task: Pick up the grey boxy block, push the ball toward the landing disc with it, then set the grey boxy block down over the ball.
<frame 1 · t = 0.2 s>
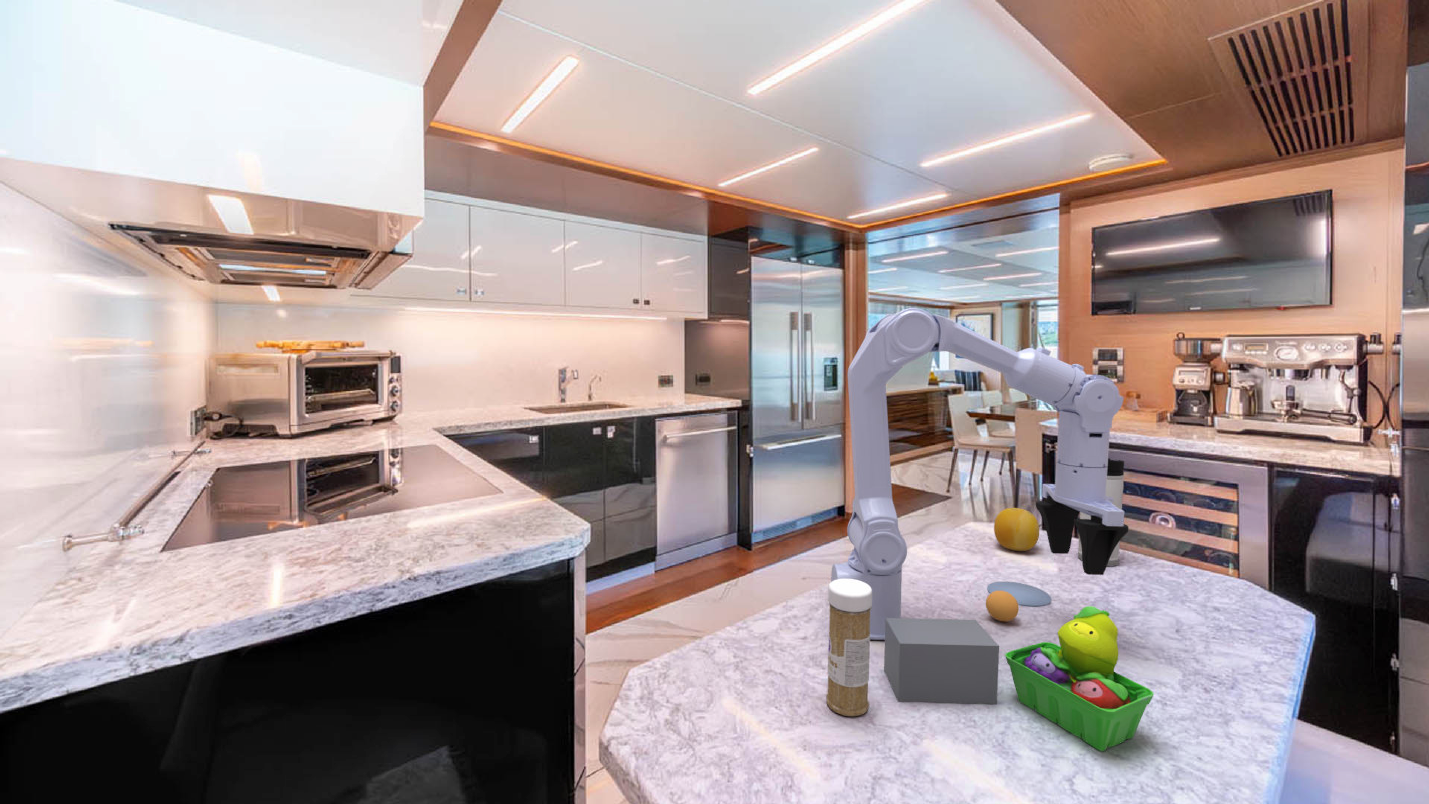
hand: (1075, 562, 75), 10 cm above the countertop, tool pointing down, fingers open, 7 cm apart
fruit: (1015, 549, 110), on the countertop
travel mug: (1097, 561, 103), on the countertop
ball: (1002, 605, 79), on the countertop
grey boxy block: (937, 686, 63), on the countertop
landing disc: (1018, 593, 88), on the countertop
sprinkles bottle: (847, 707, 60), on the countertop
fruit basket: (1075, 718, 58), on the countertop
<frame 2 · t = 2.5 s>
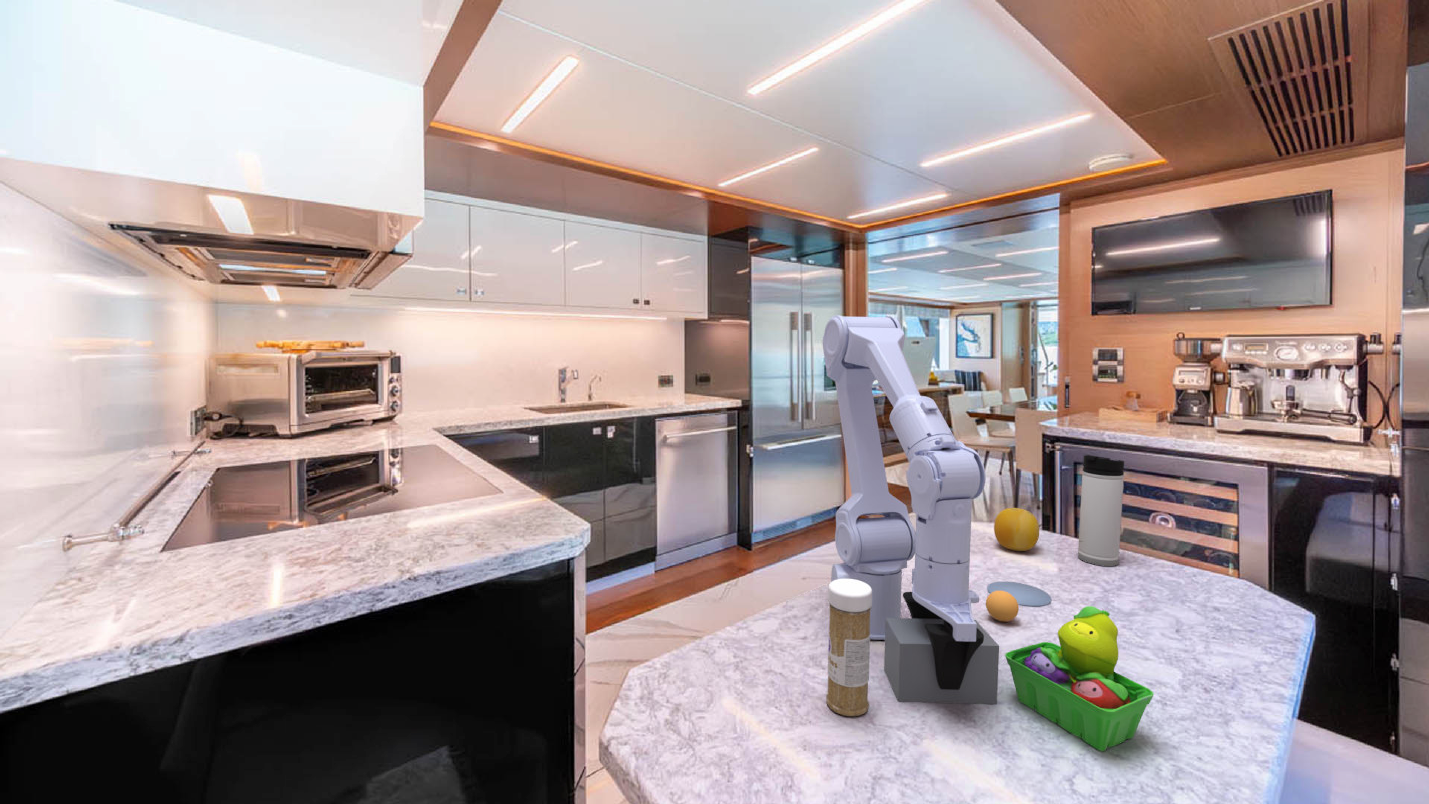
hand: (938, 670, 63), 2 cm above the countertop, tool pointing down, fingers closed on grey boxy block, 6 cm apart
grey boxy block: (937, 686, 63), on the countertop, touching gripper
everything else where it was.
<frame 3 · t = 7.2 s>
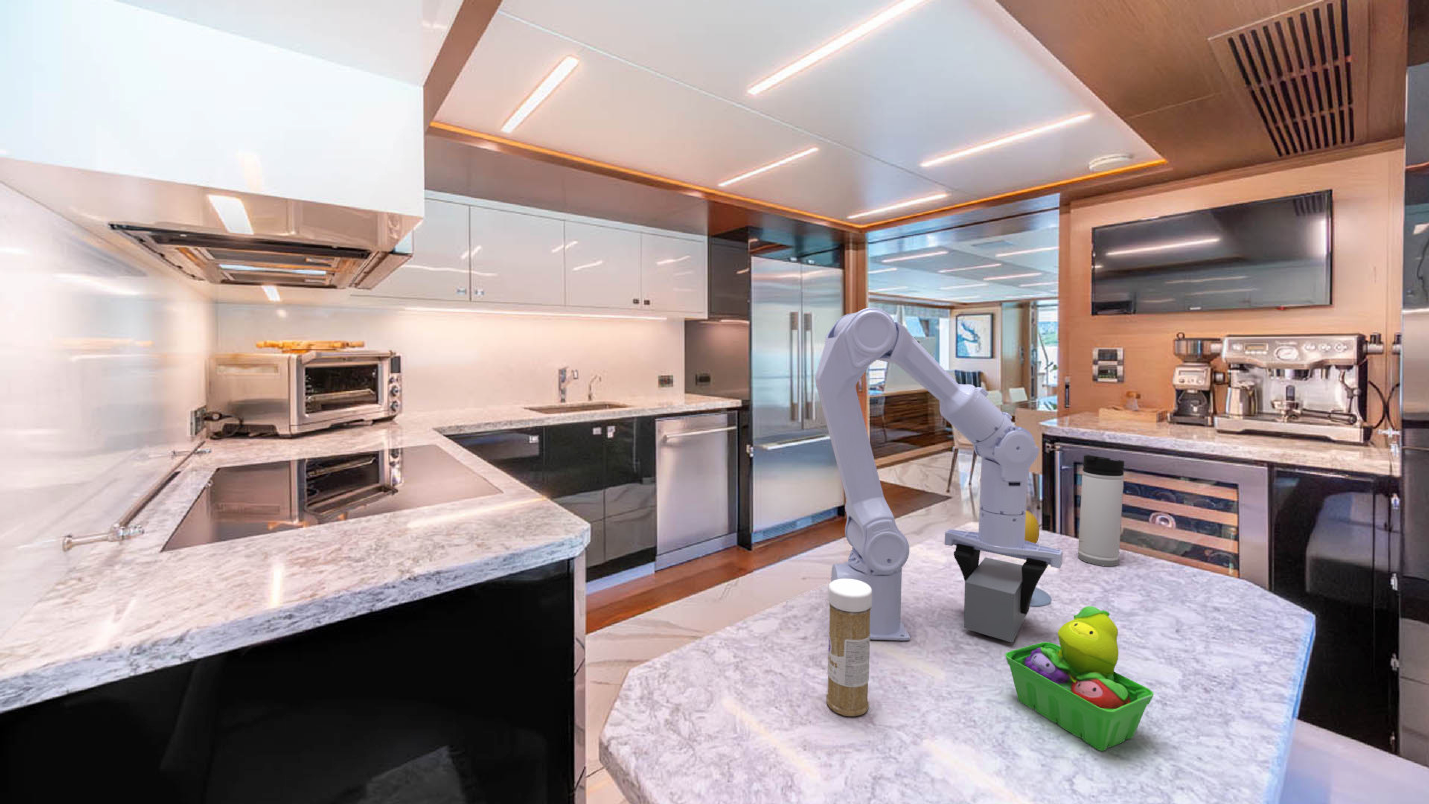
hand: (998, 604, 78), 3 cm above the countertop, tool pointing down, fingers closed on grey boxy block, 6 cm apart
ball: (1016, 586, 86), on the countertop
grey boxy block: (997, 619, 78), point 1 cm above the countertop, touching gripper
everything else where it was.
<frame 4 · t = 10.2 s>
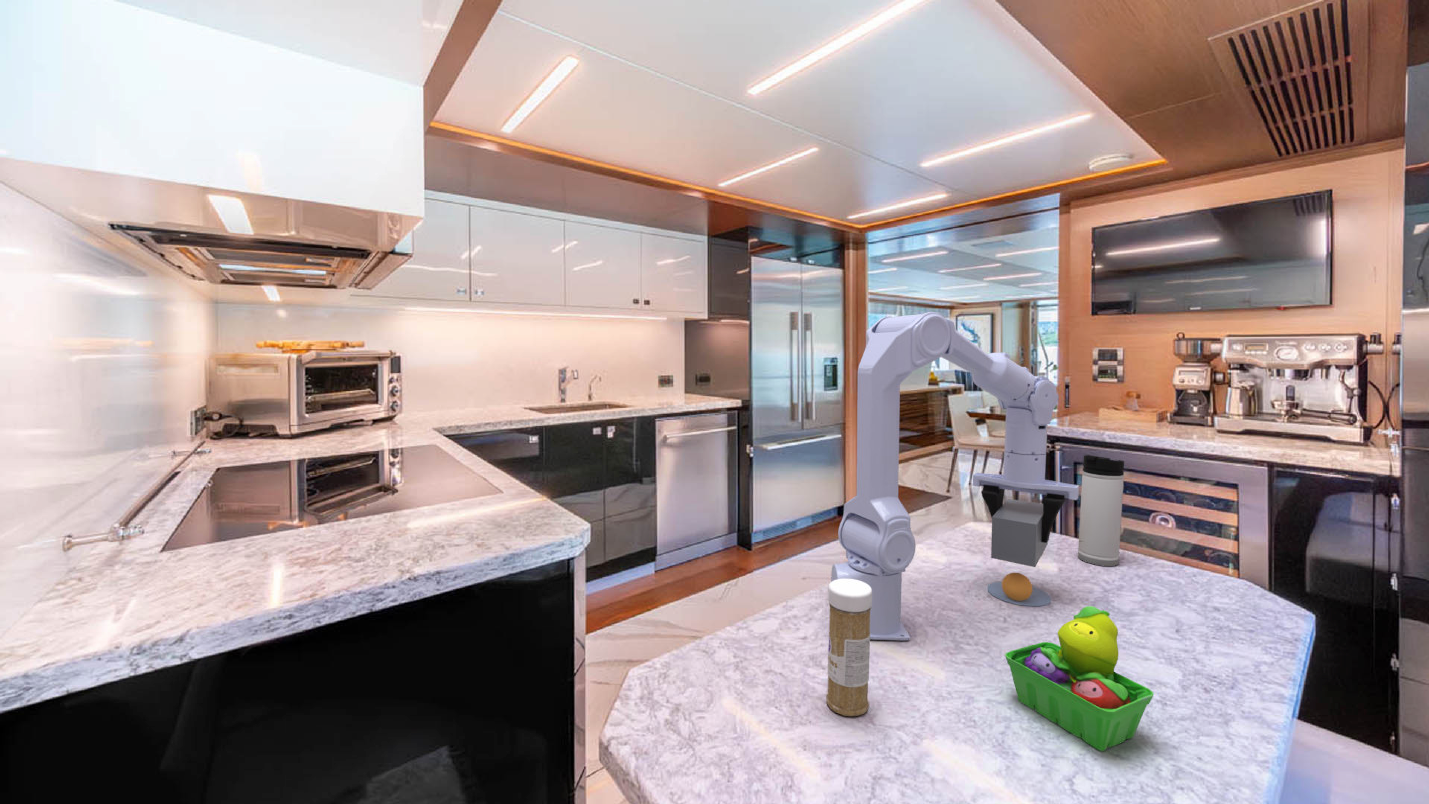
hand: (1021, 536, 88), 9 cm above the countertop, tool pointing down, fingers closed on grey boxy block, 6 cm apart
grey boxy block: (1020, 550, 88), point 7 cm above the countertop, touching gripper
everything else where it was.
when the fingers open (2 cm above the countertop, at t = 13.1 s): grey boxy block stays where it is, on the countertop.
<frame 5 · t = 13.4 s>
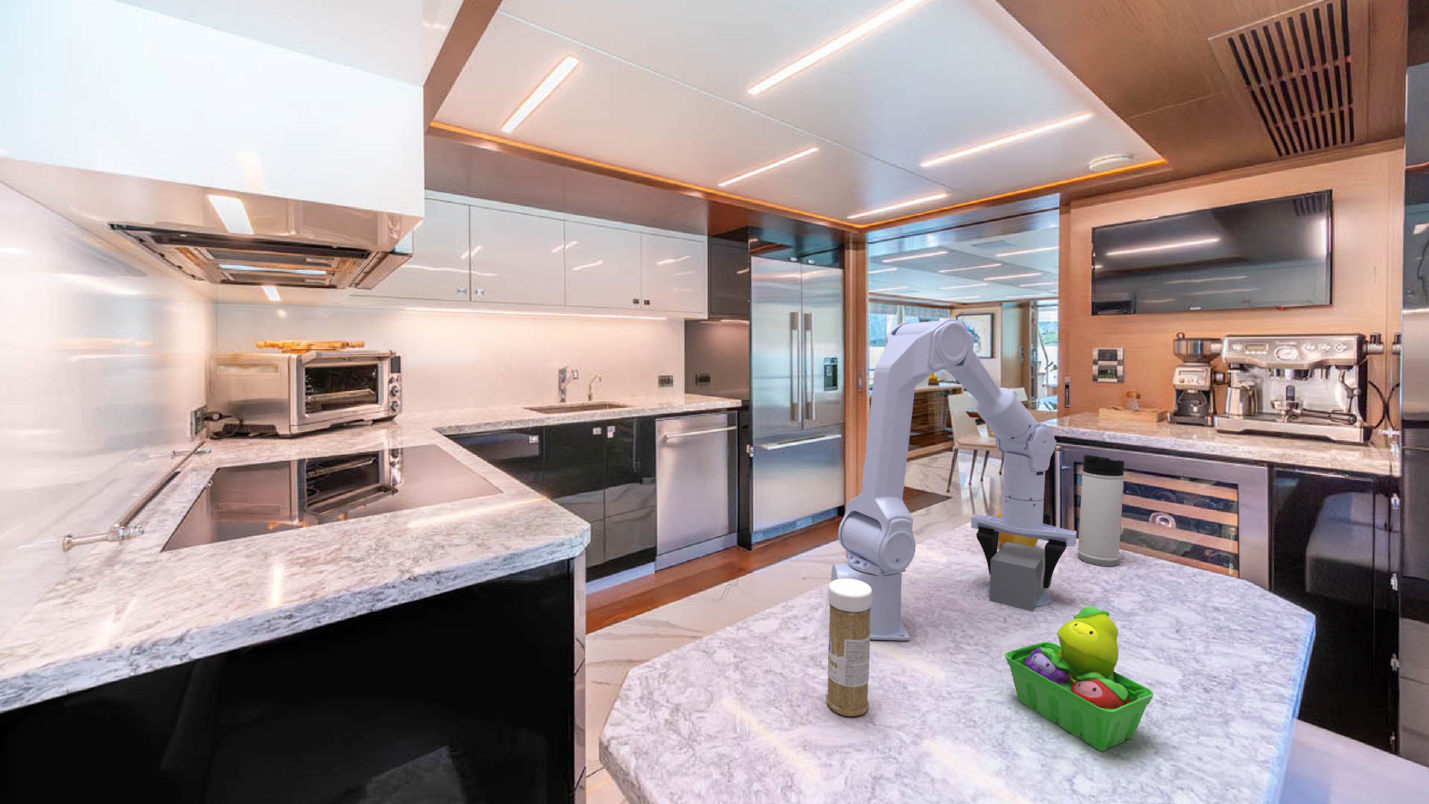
hand: (1019, 580, 88), 2 cm above the countertop, tool pointing down, fingers open, 7 cm apart
grey boxy block: (1018, 594, 88), on the countertop
everything else where it was.
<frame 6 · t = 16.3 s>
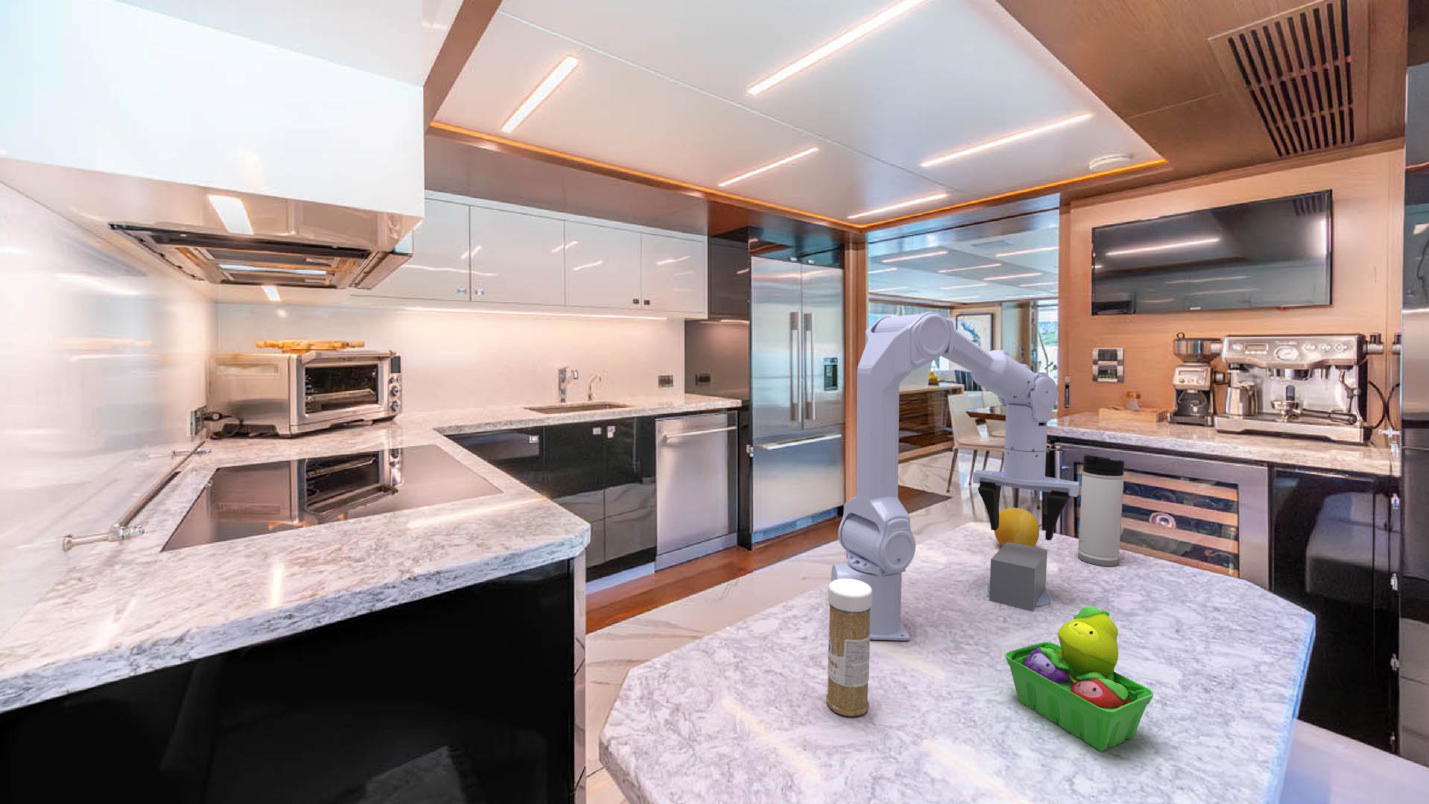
hand: (1021, 533, 88), 10 cm above the countertop, tool pointing down, fingers open, 7 cm apart
nothing on the countertop moved.
at the end: ball 2.3 cm from the grey boxy block (horizontally); grey boxy block on the countertop; ball moved 8.9 cm from its start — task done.
